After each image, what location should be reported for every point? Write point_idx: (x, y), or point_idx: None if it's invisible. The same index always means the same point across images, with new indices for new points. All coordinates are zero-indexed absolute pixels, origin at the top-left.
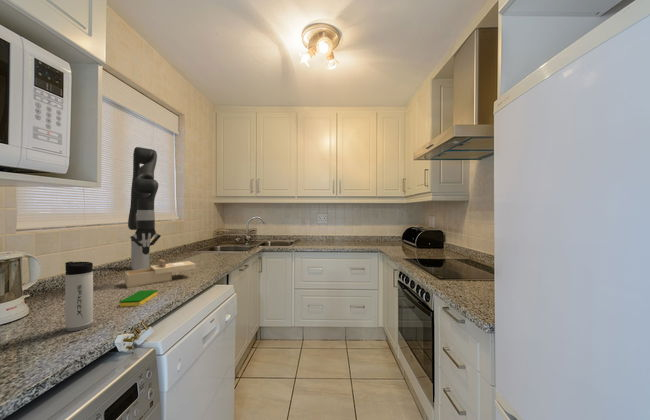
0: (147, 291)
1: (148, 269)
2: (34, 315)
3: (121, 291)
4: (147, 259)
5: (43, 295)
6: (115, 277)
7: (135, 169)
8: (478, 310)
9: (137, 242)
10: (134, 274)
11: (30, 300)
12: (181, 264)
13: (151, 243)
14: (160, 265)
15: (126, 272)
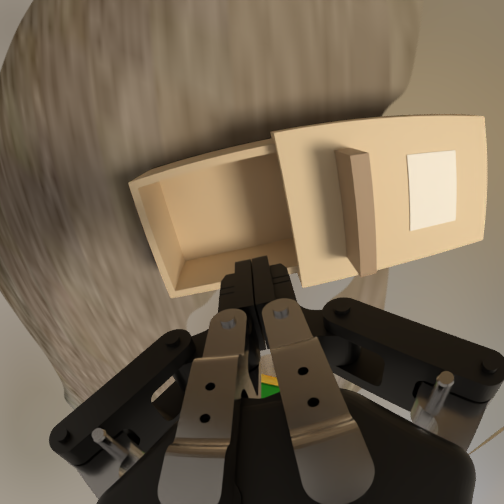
0: (264, 396)
1: (262, 154)
2: (71, 385)
3: (172, 304)
4: None
5: None
6: (97, 3)
7: None
8: (475, 449)
9: (169, 415)
10: (199, 292)
11: None
12: (441, 219)
13: (332, 369)
14: (342, 194)
15: (144, 221)
